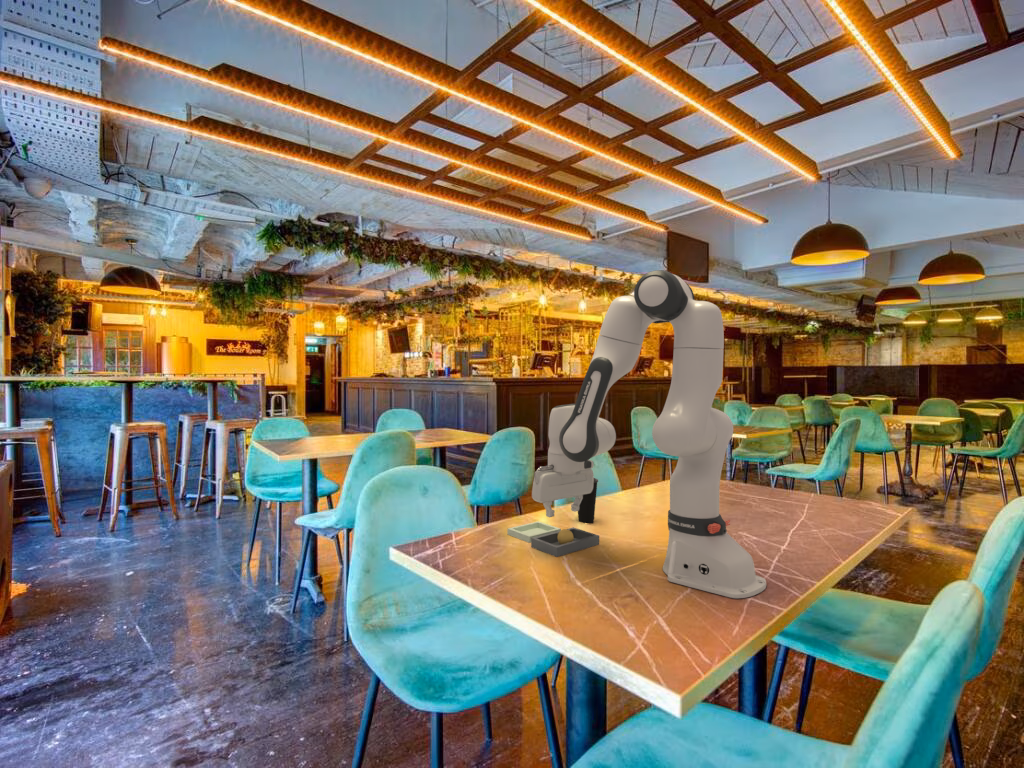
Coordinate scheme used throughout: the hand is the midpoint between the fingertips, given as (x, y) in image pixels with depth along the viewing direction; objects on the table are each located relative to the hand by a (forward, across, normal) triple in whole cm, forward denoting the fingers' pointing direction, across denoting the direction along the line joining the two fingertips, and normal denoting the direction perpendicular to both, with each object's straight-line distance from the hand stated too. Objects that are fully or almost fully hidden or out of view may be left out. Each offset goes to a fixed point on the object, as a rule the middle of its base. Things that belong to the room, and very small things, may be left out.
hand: (562, 513), depth 140 cm
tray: (+10, 0, +12) cm, 15 cm away
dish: (+9, 0, -1) cm, 9 cm away
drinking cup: (+10, +23, +13) cm, 28 cm away
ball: (+9, 0, -1) cm, 9 cm away
